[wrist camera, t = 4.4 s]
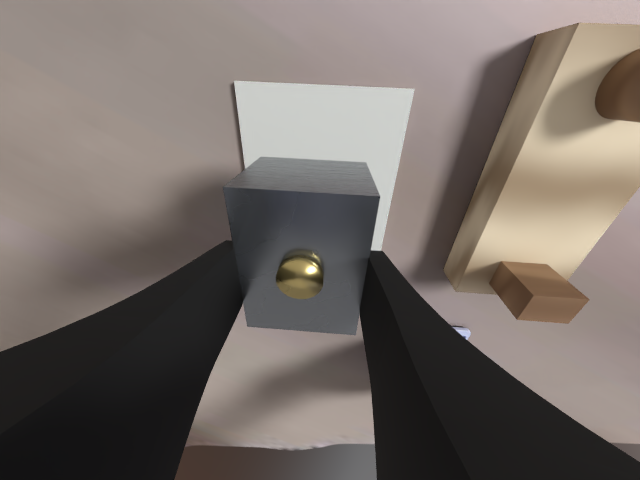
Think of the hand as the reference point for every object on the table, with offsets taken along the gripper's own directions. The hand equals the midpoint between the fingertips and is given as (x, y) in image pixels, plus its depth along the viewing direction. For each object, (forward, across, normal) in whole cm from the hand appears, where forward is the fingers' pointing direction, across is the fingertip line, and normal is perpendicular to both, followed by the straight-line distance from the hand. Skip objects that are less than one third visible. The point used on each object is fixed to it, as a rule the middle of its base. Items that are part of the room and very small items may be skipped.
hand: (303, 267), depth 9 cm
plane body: (+9, -14, -1) cm, 17 cm away
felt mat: (+9, 0, 0) cm, 9 cm away
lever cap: (+3, 0, 0) cm, 3 cm away
